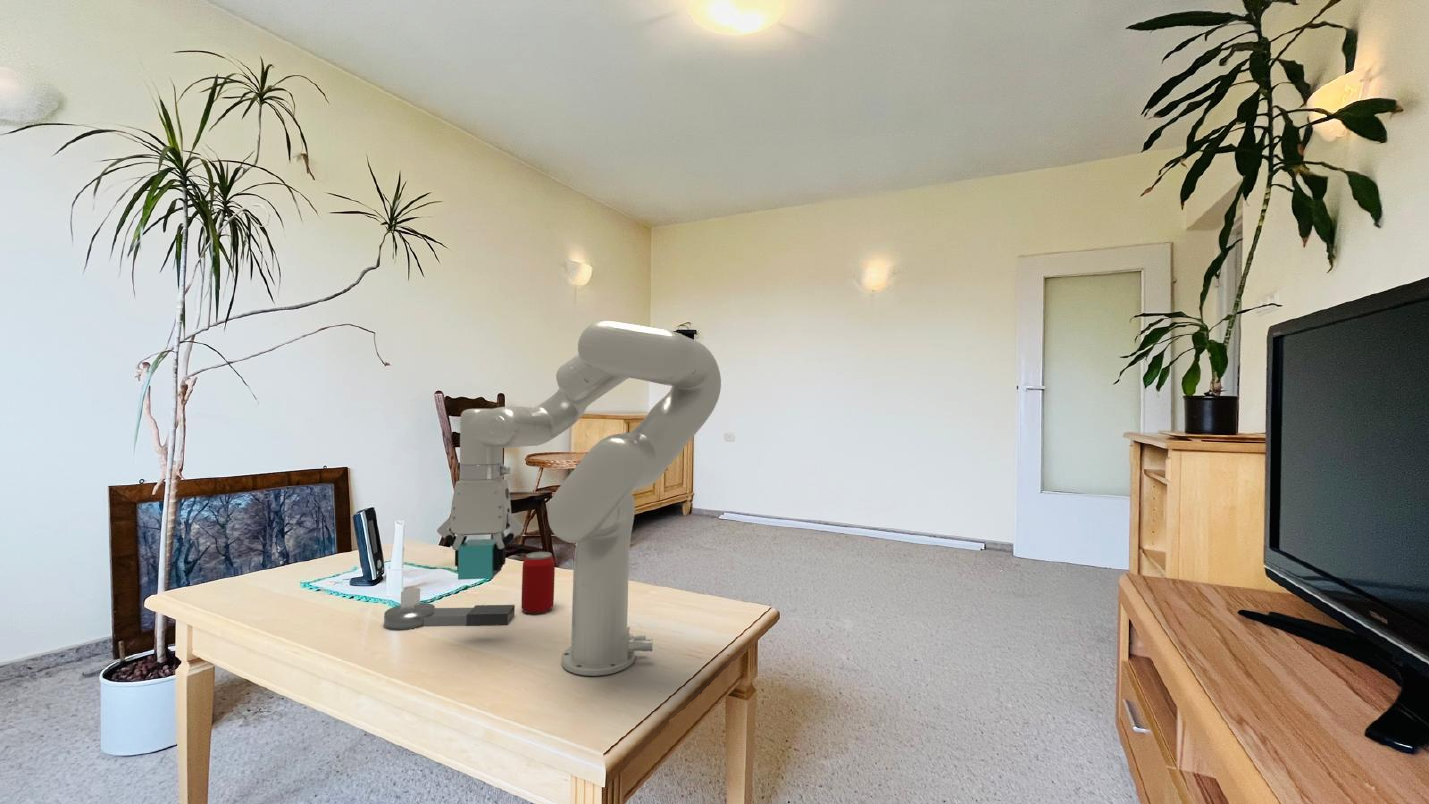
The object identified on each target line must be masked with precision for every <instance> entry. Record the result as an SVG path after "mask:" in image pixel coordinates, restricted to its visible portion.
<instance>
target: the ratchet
mask: <svg viewBox="0 0 1429 804" xmlns="http://www.w3.org/2000/svg"><path fill="white" fill-rule="evenodd" d="M515 607H516V604H487V605H486V604H480V605H478V604H476V605H474V607H436V606H435V604H433V603H428V602H421V588H419V587H418V588H417V587H414V588H413V587H412V588H411V587H410V588H406V589H404V590H402V591H401V592H400V605H396V606H393V607H391V608H389V609H387V610H386V611H384V616H383V617H384V618H383V628H384V629H386V630H389V631H394V632H395V631H397V632H400V631H411V630H416V629H420V628H423V627H453V626H454V627H463V626H464V627H465V626H466V627H489V626H492V627H493V626H508V625H509V624H510V623H511V621H512V620H513V618H514V617H515V610H516V609H515ZM415 628H416V629H415ZM410 629H411V630H410Z"/></svg>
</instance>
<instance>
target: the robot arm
mask: <svg viewBox="0 0 1429 804" xmlns="http://www.w3.org/2000/svg"><path fill="white" fill-rule="evenodd" d="M577 353H578V354H577V355H575V356H573V358H571V359H569V360H568V361H566V362H565V363H564V364H562V365H560V367H558V369H557V370H556V375H555V377H556V383H557V386H558V389H557V391H555V393H554V394H553V395H551V396H550V397H548V398H547V399H546V400H544V401H543V402H541V403H540V404H538V405H537V406H535V407H532V406H531V407H529V406H528V407H527V406H501V407H494V408H467V409H464V410H463V411H462V412H461V414H460V421H459V422H460V424H459V425H460V426H459V427H460V428H459V432H460V433H459V434H460V435H459V480H458V481H455V486H454V488H453V494H452V501H451V506H450V507H451V508H450V516H449V517H448V518H447V519H446V520H445V521H444V522H443V523H442V524H441V525H440V526H439V527H438V528H437V529H436V532H437V534H438V535H439V536H441V537H442V538H443V539H445V542H446V543H448V544H449V545H450V546H451V547H452V550H453V551H454V566H455V567H457V569H456V572H457V573H458V546H460V545H462V544H463V543H465V542H467V539H468V536H480V535H483V536H484V535H485V536H486V535H492V537H493V539H495V542H496V544H497V549H495V571H499V570H500V569H501V570H502V568H503V565H506V550H507V549H506V546H508V544H510V542H512V541H513V540H514V538H515V537H517V535H519V533H520V532H522V531H523V529H524V525H523V524H522V523H521V522H520V521H519V520H518V519H517V518H516V517H515V516H514V515H513V514H512V505H511V496H510V495H511V494H510V489H509V482H508V479H503V478H504V476H506V475H510V474H511V467H510V466H509V467H508V466H505V465H504V463H503V461H504V460H503V459H504V458H503V456H504V454H503V453H504V451H503V450H504V448H508V449H509V448H521V447H522V448H523V447H534V446H535V447H537V446H541V445H544V444H546V443H548V442H550V441H552V440H553V439H555V438H557V437H558V436H559V435H561V434H563V433H564V432H566V431H567V430H568V429H570V428H571V427H573V426H574V425H575V424H576V423H577V422H578V421H579V420H580V418H581V417H582V416H583V414H584V413H585V412H586V410H587V409H588V407H589V406H590V405H591V404H592V403H594V402H596V401H597V400H598V399H600V398H601V397H602V396H604V395H605V394H607V393H609V391H611V390H613V389H615V388H616V387H618V386H619V385H620V384H622V383H624V382H625V381H626V380H628V379H635V380H641V381H646V382H648V383H649V382H650V383H654V384H659V385H664V386H670V387H671V388H670V390H669V392H667V394H666V395H665V396H663V397H662V398H661V399H660V400H659V401H658V402H657V403H656V404H655V405H654V406H653V407H651V409H650V411H649V412H648V413H647V415H646V416H645V417H644V418H643V419H642V420H641V421H640V423H639V424H638V425H637V426H636V427H635V428H634V429H633V430H631V431H629V432H625V433H623V432H622V433H616V434H615V433H614V434H611V435H609V436H606V437H605V438H602V439H601V440H599V441H598V442H597V443H595V444H594V446H592V447H591V448H590V449H589V450H588V452H587V453H586V454H585V455H584V456H583V458H582V459H581V460H580V461H579V462H578V464H577V465H576V466H575V467H574V469H572V471H571V472H570V473H569V474H568V476H567V477H566V478H565V480H563V482H562V483H561V485H560V486H559V487H558V488H557V490H556V491H555V493H554V494H553V496H552V498H551V500H550V502H549V505H548V510H547V521H548V526H549V528H550V530H551V532H552V533H553V535H554V536H555V537H556V538H558V539H559V540H561V541H563V542H565V543H569V544H575V549H574V554H573V555H574V557H573V571H572V573H573V578H572V607H571V608H572V609H571V610H572V612H571V614H572V616H571V642H570V644H571V645H570V646H569V647H568V648H566V649H565V650H564V651H563V653H562V655H561V665H562V667H563V668H564V670H567V672H569V673H572V674H575V675H580V676H589V677H590V676H591V677H592V676H593V677H594V676H595V677H597V676H605V675H611V674H615V673H618V672H621V671H624V670H625V669H627V668H629V667H630V666H631V665H632V664H633V663H634V662H635V660H636V652H653V639H647V635H633V633H632V634H631V633H630V626H628V613H629V612H628V606H629V605H628V604H629V575H630V574H629V571H630V546H631V537H632V531H633V525H634V520H635V512H636V511H635V509H636V507H635V505H636V504H635V499H634V498H635V497H634V495H633V492H635V491H638V490H643V489H646V488H647V487H650V486H652V485H654V484H655V483H656V482H657V481H658V480H659V479H660V478H661V477H662V475H664V473H665V472H666V470H667V469H668V468H669V467H670V466H671V464H672V463H673V462H674V460H675V459H676V458H677V457H679V455H680V454H681V452H682V451H683V450H684V449H685V448H686V446H687V445H688V444H689V442H690V441H692V439H693V437H695V435H696V434H697V433H698V432H699V430H700V429H701V428H702V427H703V426H704V425H705V423H706V422H707V420H708V419H709V418H710V416H711V415H712V413H713V412H714V410H715V408H716V406H717V404H718V400H719V398H720V396H721V395H720V394H721V388H722V377H721V372H720V368H719V365H718V362H717V360H716V358H715V356H714V355H713V353H712V352H711V351H710V350H709V348H708V347H706V345H704V344H702V343H701V342H699V341H697V340H695V339H693V338H690V337H688V336H686V335H684V334H681V333H679V332H676V331H673V330H670V329H663V328H659V327H651V326H646V325H639V324H632V323H628V322H627V323H626V322H621V321H616V320H610V319H603V320H597V321H595V322H592V323H591V324H589V325H588V326H587V327H586V328H585V329H584V330H583V331H582V333H581V334H580V336H579V338H578V342H577ZM511 527H512V530H511V531H509V533H508V534H506V533H505V531H506V530H509V529H510V528H511Z"/></svg>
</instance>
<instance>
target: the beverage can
mask: <svg viewBox="0 0 1429 804" xmlns="http://www.w3.org/2000/svg"><path fill="white" fill-rule="evenodd" d="M555 566H556V562H555V559H554V556H553V554H552V553H551V552H548V551H533V552H530V553H527V554H526V555H525V559H524V561H523V562H522V569H521V570H522V571H521V572H522V573H521V577H522V578H521V610H523V611H524V612H525V613H527V614H531V615H536V614H544V613H546V612H548V611H549V610H551V609H552V608H553V607H554V602H555V601H554V599H555V575H556V574H555V572H556V571H555V570H556V569H555V568H556V567H555Z"/></svg>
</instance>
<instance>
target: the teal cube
mask: <svg viewBox="0 0 1429 804" xmlns="http://www.w3.org/2000/svg"><path fill="white" fill-rule="evenodd" d="M495 549H497V544H496V542H495V539H494V538H486V539H485V538H481V539H479V538H477V539H476V538H475V539H469V540H466V541H465V543H463V544H462V545H460V546H458V572H457V580H460V581H461V580H482V579H483V580H485V579H486V580H487V579H493V578H494V577H496V576H497V575H498V573H499V572H501V571H502V568H501V569H500V570H499V571H495Z"/></svg>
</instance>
